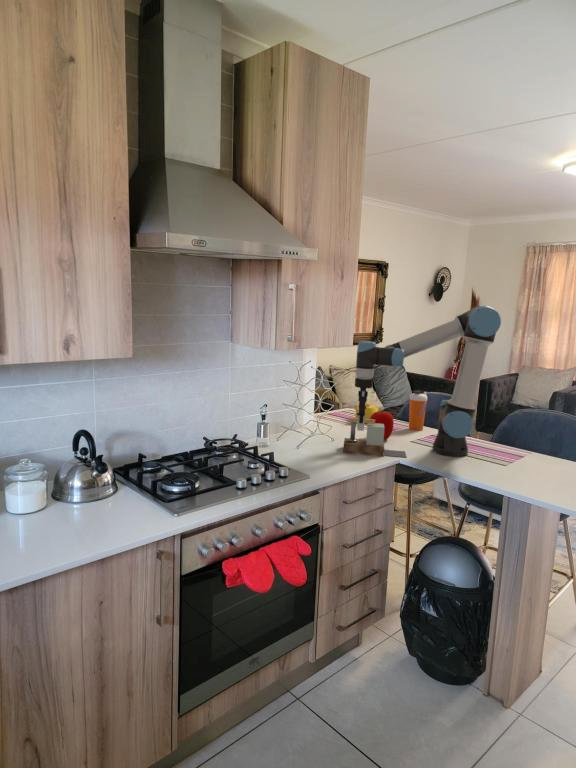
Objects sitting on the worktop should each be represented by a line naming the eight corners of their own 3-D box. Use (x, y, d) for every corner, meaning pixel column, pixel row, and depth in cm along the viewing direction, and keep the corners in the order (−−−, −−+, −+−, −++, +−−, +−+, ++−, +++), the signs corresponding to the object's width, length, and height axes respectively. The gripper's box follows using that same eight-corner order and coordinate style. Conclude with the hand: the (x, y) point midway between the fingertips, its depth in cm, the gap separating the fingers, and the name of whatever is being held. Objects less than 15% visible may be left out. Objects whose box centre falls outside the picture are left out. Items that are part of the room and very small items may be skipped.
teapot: (356, 424, 281) (358, 405, 280) (352, 418, 294) (353, 400, 293) (382, 424, 282) (383, 406, 280) (376, 419, 295) (378, 401, 294)
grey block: (382, 441, 231) (383, 423, 229) (383, 446, 224) (384, 427, 223) (366, 440, 232) (367, 422, 230) (366, 444, 225) (367, 426, 224)
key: (373, 441, 230) (374, 418, 228) (373, 443, 226) (375, 421, 224) (347, 439, 231) (348, 417, 230) (347, 441, 227) (348, 419, 226)
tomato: (387, 443, 243) (389, 413, 241) (364, 439, 249) (366, 410, 247) (396, 438, 254) (398, 409, 252) (373, 434, 260) (375, 406, 257)
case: (382, 449, 233) (383, 441, 232) (383, 456, 223) (384, 447, 222) (344, 446, 235) (344, 437, 234) (343, 452, 225) (343, 443, 225)
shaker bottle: (403, 428, 276) (406, 390, 272) (413, 426, 282) (416, 389, 278) (418, 431, 269) (421, 393, 266) (428, 429, 275) (431, 391, 272)
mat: (404, 452, 231) (405, 451, 231) (406, 457, 222) (406, 457, 222) (384, 450, 232) (384, 449, 232) (384, 456, 223) (384, 455, 223)
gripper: (355, 373, 237) (352, 419, 240) (354, 381, 213) (351, 432, 216) (372, 374, 236) (369, 421, 239) (373, 382, 212) (369, 434, 215)
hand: (360, 426), depth 228 cm, fingers open, 13 cm apart
